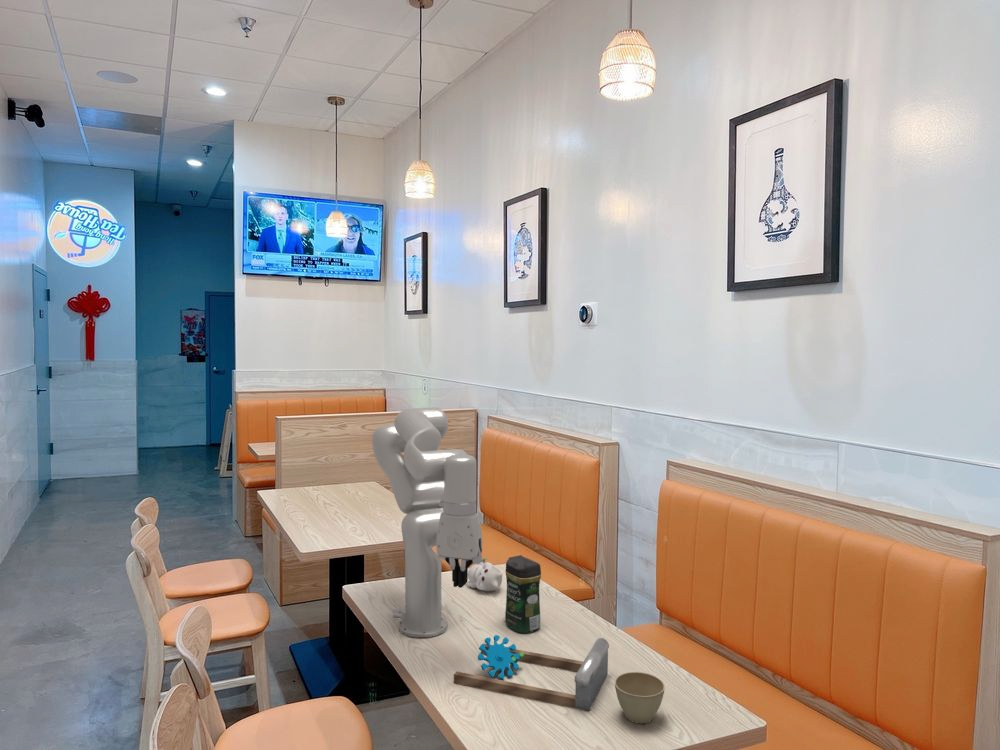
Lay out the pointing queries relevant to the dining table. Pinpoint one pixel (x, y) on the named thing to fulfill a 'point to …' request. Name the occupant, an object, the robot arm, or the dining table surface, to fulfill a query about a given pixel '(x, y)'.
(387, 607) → the dining table surface
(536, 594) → the coffee jar
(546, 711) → the dining table surface
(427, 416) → the robot arm
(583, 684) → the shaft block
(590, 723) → the dining table surface
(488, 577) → the cat figurine
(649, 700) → the flower pot
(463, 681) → the guide
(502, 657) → the gear
